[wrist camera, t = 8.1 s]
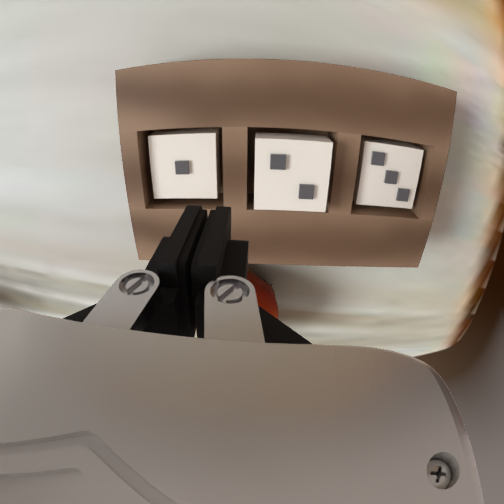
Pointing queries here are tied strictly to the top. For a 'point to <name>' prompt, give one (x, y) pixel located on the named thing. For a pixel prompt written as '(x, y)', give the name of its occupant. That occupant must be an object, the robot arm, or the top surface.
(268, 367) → the robot arm
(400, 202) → the button
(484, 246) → the top surface
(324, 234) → the wooden slot board
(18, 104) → the top surface
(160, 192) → the button
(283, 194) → the button
